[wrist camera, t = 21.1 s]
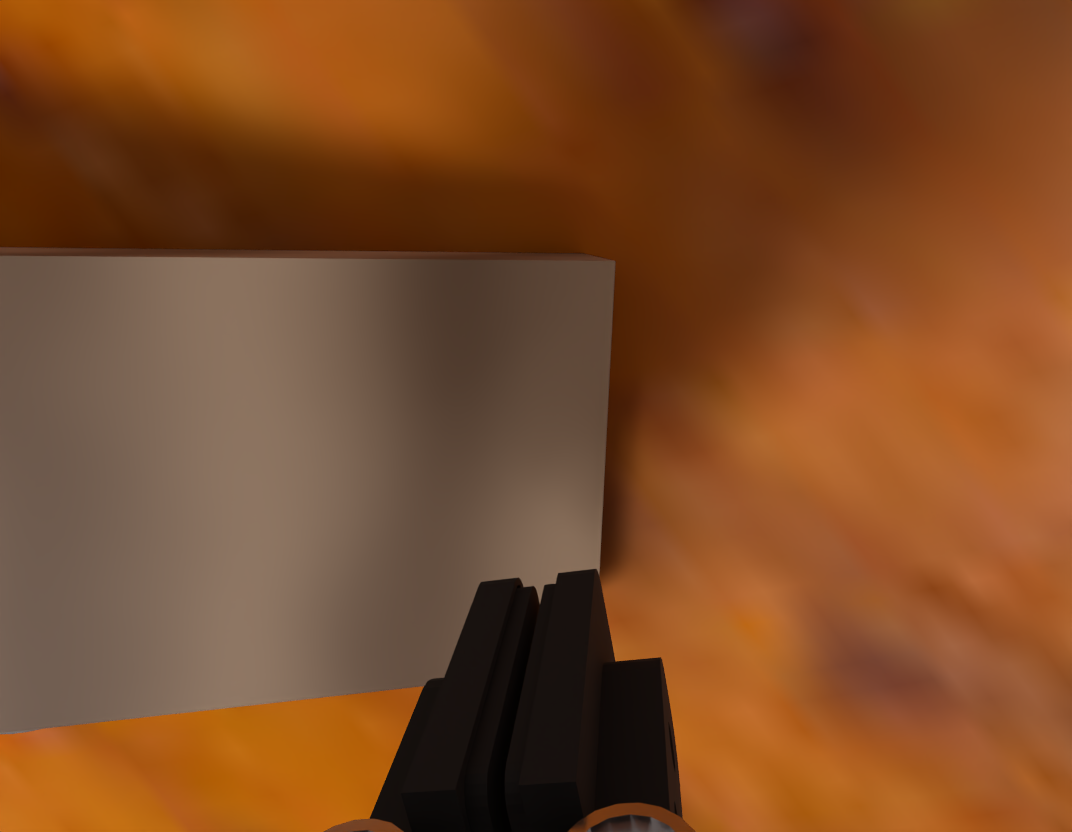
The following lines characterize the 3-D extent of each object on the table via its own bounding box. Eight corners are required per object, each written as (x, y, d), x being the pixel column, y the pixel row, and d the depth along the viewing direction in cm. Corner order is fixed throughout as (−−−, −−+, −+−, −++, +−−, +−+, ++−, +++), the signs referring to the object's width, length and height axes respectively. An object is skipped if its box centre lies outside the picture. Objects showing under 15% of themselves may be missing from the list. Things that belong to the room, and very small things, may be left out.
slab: (583, 253, 15) (615, 261, 13) (569, 615, 17) (594, 667, 15) (-606, 240, 11) (-808, 248, 9) (-428, 710, 13) (-561, 795, 11)
